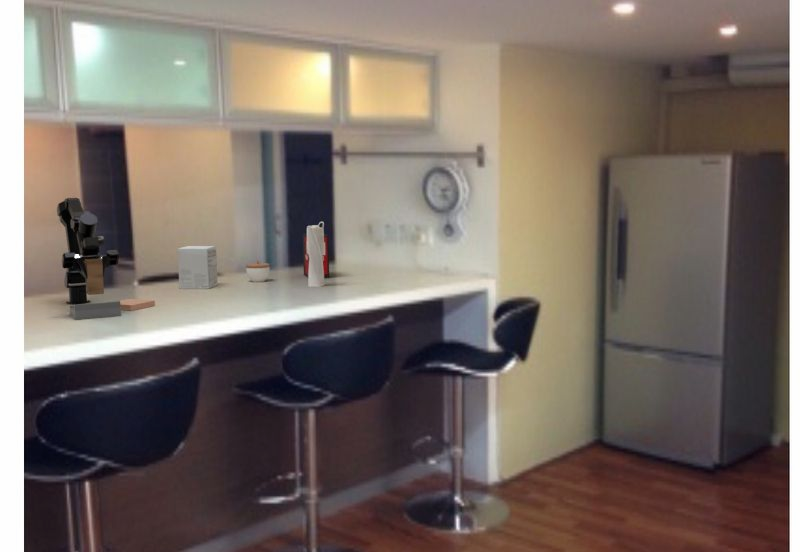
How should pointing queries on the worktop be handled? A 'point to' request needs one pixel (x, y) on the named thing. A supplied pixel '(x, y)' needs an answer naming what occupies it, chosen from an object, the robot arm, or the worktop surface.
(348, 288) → the worktop surface
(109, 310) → the slate shelf ledge
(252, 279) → the lidded jar
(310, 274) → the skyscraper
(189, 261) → the supplement box
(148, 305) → the terracotta tile stand
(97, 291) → the walnut block
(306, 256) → the cleaning product box
